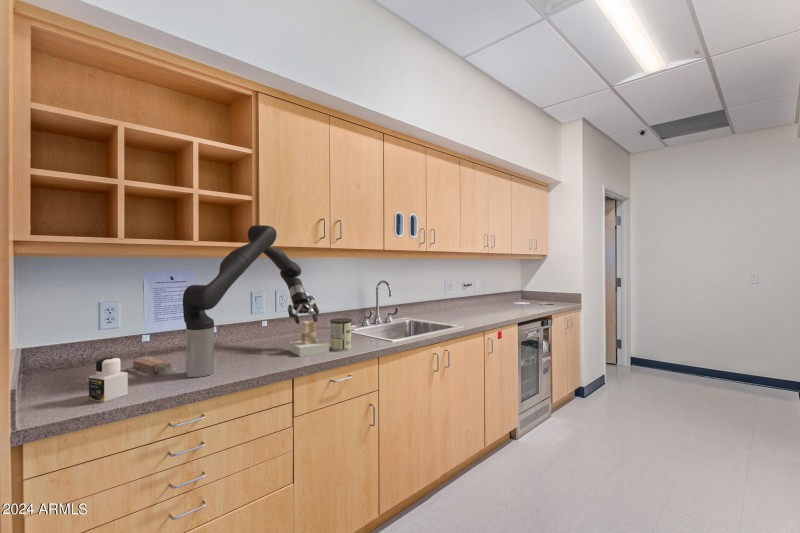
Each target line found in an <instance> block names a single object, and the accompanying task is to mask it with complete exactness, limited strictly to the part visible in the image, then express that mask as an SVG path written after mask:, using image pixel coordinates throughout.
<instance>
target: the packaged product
mask: <svg viewBox="0 0 800 533" xmlns="http://www.w3.org/2000/svg"><path fill="white" fill-rule="evenodd" d="M126 370H127V371H130V372H132V373H135V374H137V375H139V376H143V377H146V378H154V377H159V376H163V375H167V374H171V373H176V372H177V368H175V367H172V364H171V362H170V361H168V360H164V359H161V358H158V357H155V356H150V355H149V356H148V355H145V356H143V357H141V358H137V359H135V360H133V361H132V366H130V367H126Z"/></svg>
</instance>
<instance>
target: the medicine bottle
mask: <svg viewBox="0 0 800 533" xmlns="http://www.w3.org/2000/svg"><path fill="white" fill-rule="evenodd" d="M121 366H122V365H121V359H120V357H119V358H118V357H116V356H114V357H113V356H112V357H111V356H110V357H104V358H100V359H98V360H97V361H96V362H95V374H92V375H89V377H88V399H89V400H91V401H96V402H102V403H106V402H110V401H113V400H117V399H119V398H122V397H125V396H127V395H128V394H129V393H128V392H129V390H128V386H129V385H128V384H129V382H128V380H129V378H128V375H129V374H128V372H124V371H121Z"/></svg>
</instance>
